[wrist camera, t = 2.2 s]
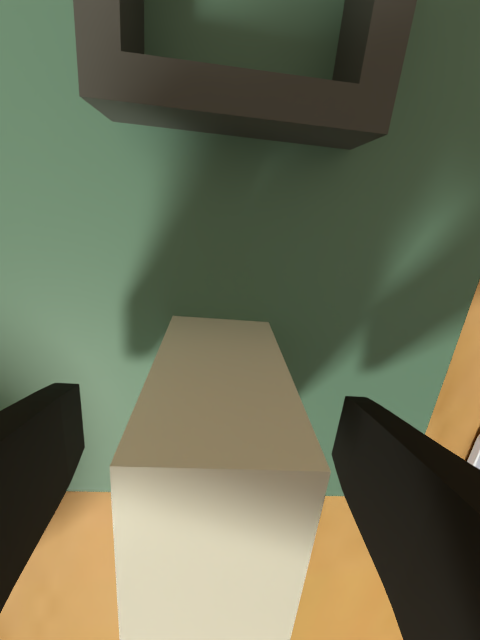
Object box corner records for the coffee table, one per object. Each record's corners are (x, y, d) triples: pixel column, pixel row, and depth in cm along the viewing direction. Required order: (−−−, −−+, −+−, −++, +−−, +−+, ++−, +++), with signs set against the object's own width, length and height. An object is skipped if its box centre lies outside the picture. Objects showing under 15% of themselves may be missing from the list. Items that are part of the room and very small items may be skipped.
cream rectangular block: (268, 322, 10) (330, 471, 4) (251, 455, 12) (279, 682, 6) (172, 315, 10) (109, 466, 4) (169, 452, 12) (122, 687, 6)
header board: (656, -337, 7) (978, -736, 4) (390, 477, 14) (433, 545, 11) (-202, -579, 5) (-696, -1500, 2) (6, 468, 13) (-56, 544, 10)
